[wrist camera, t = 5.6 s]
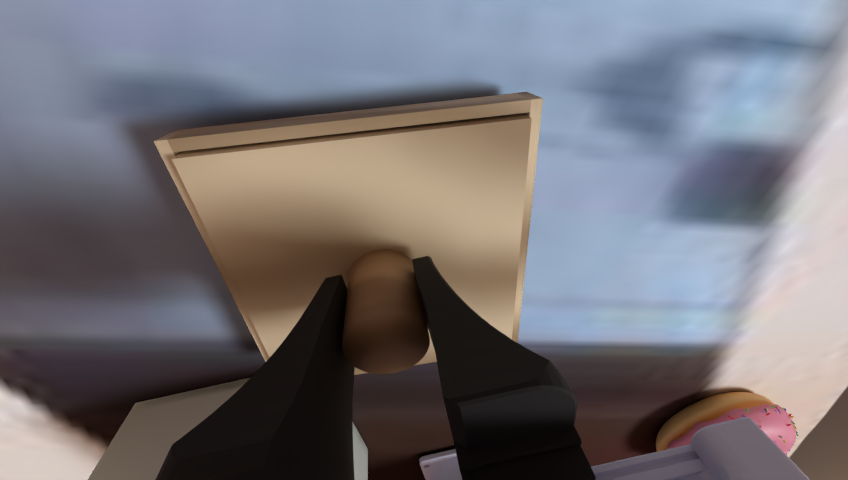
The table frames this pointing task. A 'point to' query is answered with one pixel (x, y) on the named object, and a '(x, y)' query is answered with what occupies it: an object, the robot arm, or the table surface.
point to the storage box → (176, 433)
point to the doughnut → (728, 419)
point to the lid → (366, 215)
